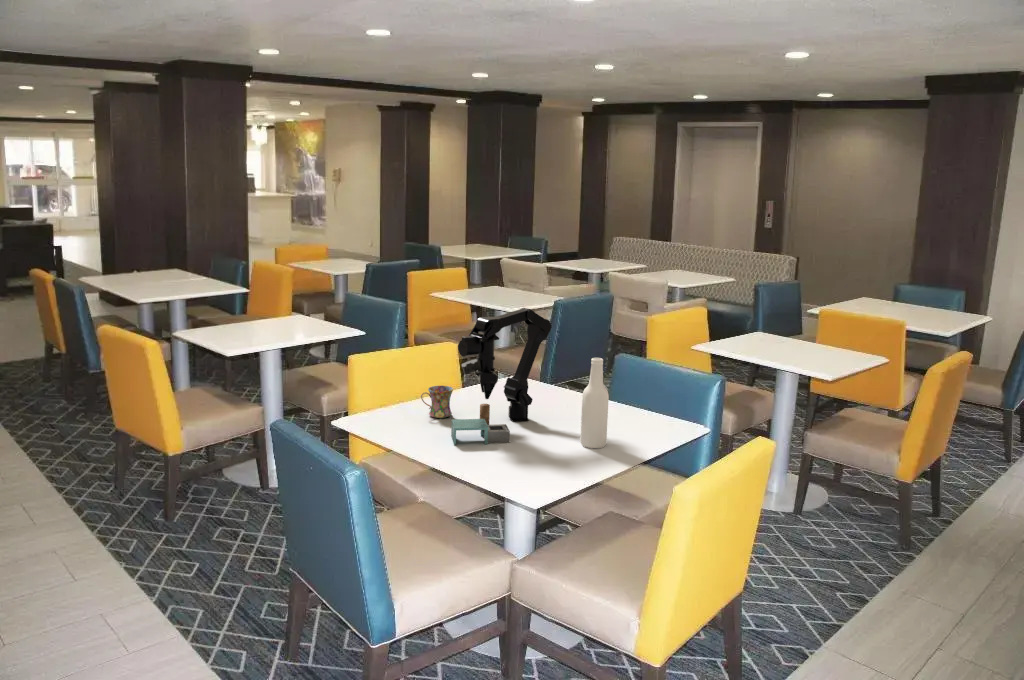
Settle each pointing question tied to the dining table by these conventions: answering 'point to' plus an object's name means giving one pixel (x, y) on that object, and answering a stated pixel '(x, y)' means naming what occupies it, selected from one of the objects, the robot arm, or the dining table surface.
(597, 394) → the alcohol
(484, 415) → the peg
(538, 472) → the dining table surface
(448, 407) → the mug
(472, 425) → the station
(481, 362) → the robot arm
